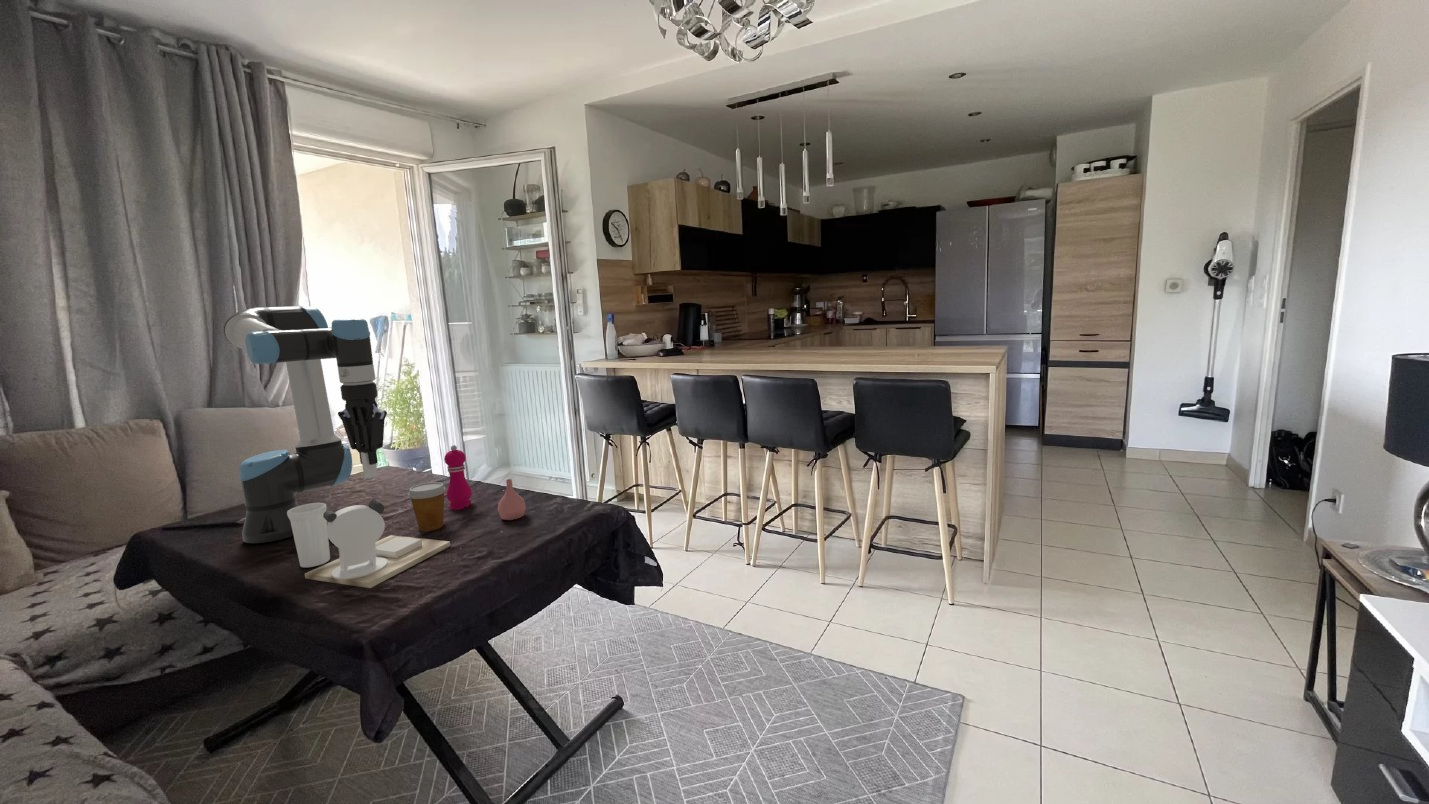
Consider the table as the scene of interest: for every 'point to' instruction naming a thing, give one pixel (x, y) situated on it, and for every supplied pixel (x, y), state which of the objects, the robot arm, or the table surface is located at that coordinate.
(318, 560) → the cup
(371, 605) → the table surface
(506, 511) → the pink bulbous piece
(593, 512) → the table surface
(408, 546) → the tile
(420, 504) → the disposable coffee cup
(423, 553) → the board
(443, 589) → the table surface
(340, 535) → the panda figurine
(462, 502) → the pepper mill
